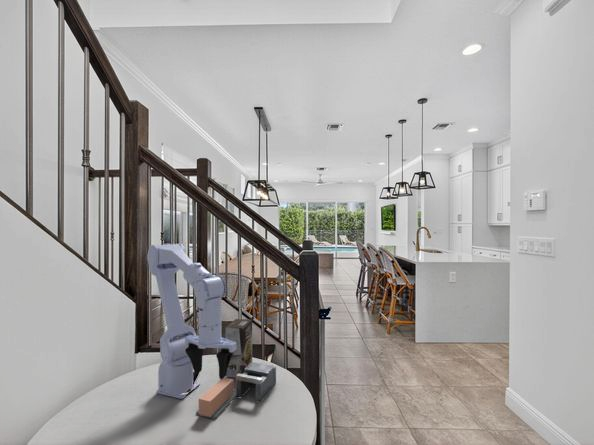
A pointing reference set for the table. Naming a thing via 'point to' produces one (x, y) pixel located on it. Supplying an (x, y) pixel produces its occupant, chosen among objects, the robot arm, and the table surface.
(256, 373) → the dispenser
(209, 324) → the robot arm
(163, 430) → the table surface
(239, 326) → the coffee box
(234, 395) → the pad
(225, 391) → the salmon rectangular block
